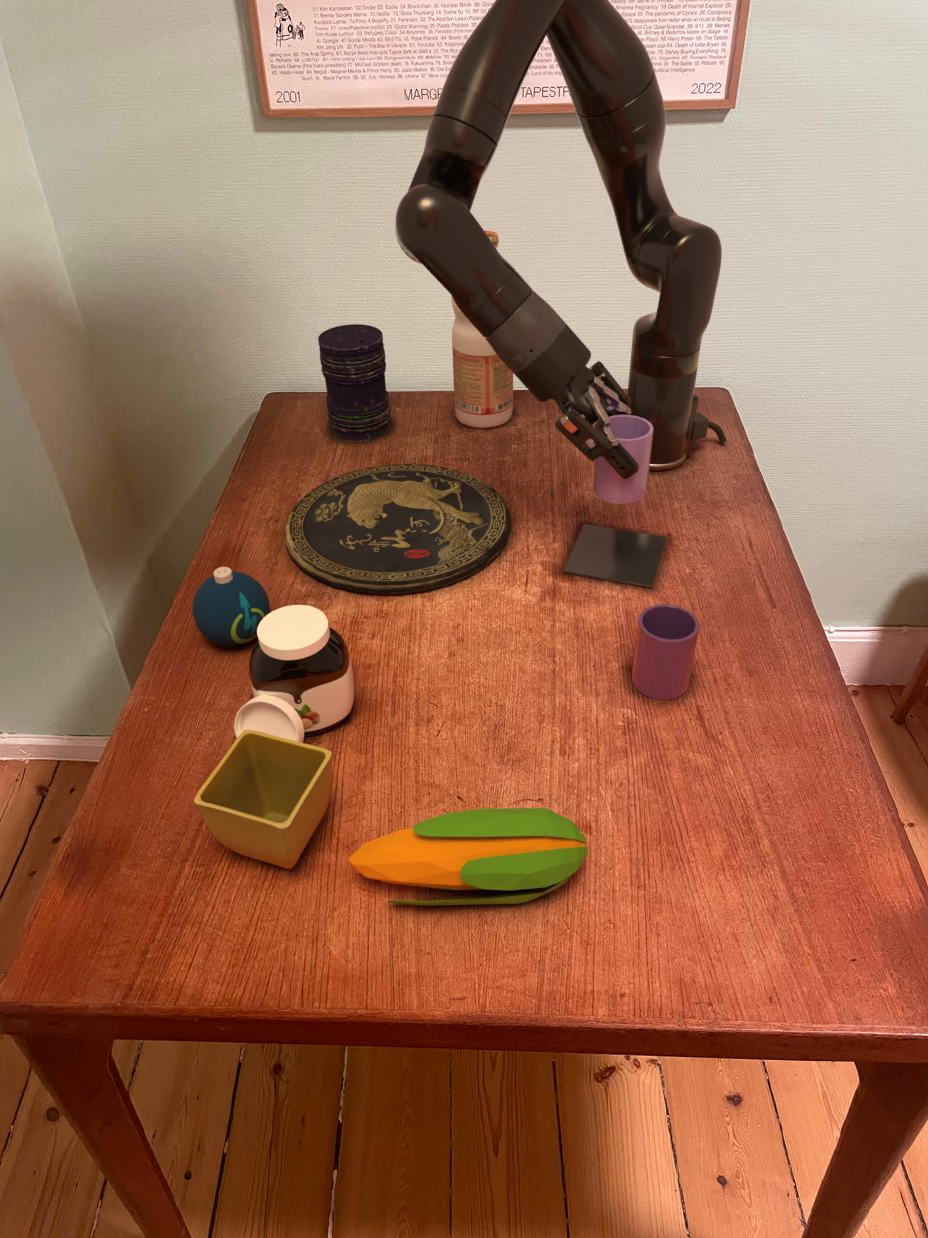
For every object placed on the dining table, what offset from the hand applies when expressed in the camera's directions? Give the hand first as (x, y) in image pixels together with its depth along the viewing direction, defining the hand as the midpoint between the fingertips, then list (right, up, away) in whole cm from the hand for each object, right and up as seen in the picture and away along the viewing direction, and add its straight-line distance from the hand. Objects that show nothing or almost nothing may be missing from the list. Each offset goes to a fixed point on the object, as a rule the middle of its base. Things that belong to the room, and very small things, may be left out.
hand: (638, 458), depth 100 cm
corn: (-19, -41, -23) cm, 51 cm away
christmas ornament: (-45, -20, +3) cm, 50 cm away
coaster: (0, -10, +13) cm, 17 cm away
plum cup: (+1, -24, -5) cm, 25 cm away
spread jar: (-36, -29, -8) cm, 47 cm away
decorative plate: (-28, -6, +20) cm, 35 cm away
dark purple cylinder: (-36, +13, +43) cm, 57 cm away
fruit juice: (-16, +15, +45) cm, 50 cm away
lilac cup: (-1, -3, +3) cm, 5 cm away
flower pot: (-36, -38, -19) cm, 56 cm away
